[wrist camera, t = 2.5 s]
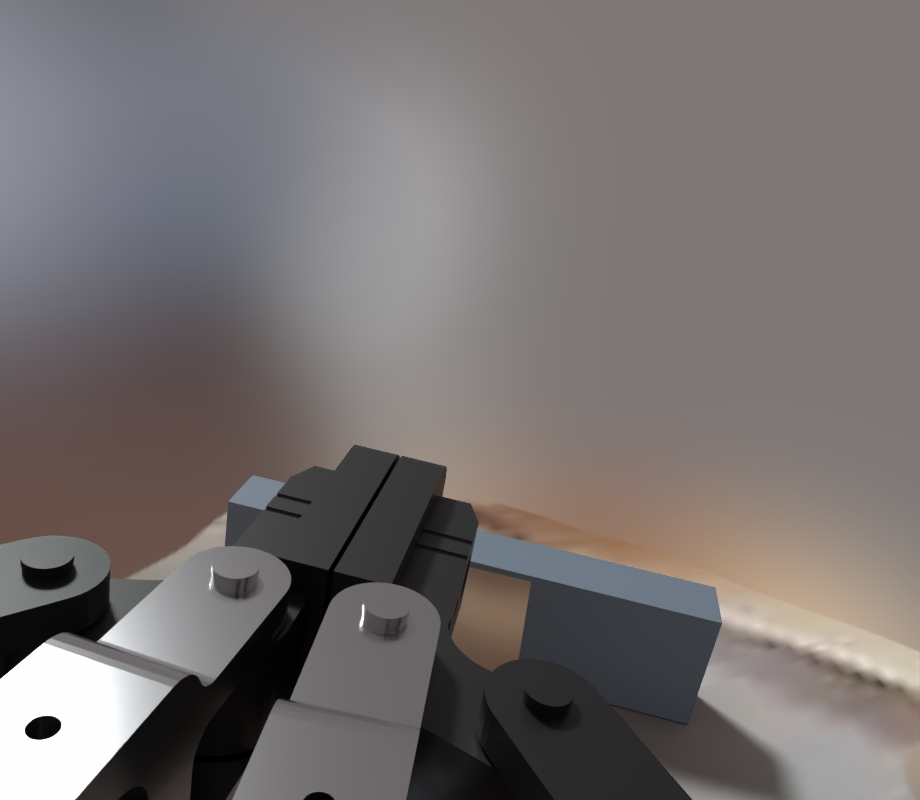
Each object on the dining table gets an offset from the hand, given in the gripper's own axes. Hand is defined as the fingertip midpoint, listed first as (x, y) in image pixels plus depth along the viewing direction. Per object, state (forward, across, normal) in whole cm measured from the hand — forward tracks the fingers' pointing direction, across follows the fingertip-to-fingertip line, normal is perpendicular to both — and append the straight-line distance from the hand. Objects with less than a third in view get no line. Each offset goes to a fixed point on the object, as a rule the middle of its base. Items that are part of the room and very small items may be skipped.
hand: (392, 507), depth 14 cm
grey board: (+25, 0, +21) cm, 32 cm away
